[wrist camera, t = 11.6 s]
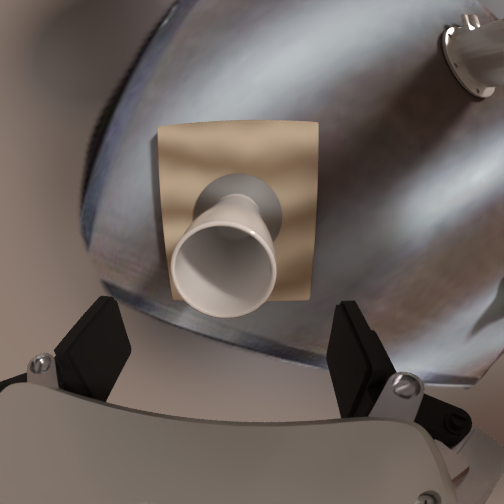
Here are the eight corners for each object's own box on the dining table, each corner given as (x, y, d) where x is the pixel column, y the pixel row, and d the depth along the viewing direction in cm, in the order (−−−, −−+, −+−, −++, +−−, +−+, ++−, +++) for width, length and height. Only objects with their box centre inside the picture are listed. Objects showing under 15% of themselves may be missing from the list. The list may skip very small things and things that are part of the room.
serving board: (161, 127, 28) (156, 126, 27) (315, 123, 28) (318, 122, 27) (175, 294, 36) (172, 301, 34) (307, 294, 36) (309, 301, 34)
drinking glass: (252, 176, 29) (252, 201, 15) (275, 231, 31) (293, 300, 17) (197, 200, 30) (149, 246, 16) (221, 252, 32) (199, 331, 18)
